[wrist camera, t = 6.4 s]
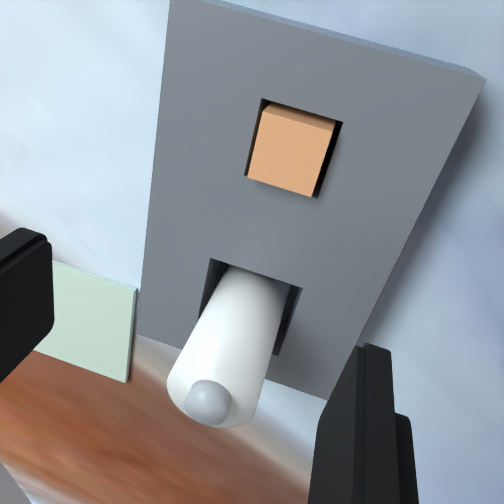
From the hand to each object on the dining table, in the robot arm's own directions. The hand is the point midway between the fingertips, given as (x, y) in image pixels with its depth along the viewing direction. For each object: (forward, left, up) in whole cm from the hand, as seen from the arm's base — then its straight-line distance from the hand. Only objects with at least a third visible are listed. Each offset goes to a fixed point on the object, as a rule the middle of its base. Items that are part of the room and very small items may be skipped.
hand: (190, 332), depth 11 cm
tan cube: (0, 0, -19) cm, 19 cm away
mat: (+16, +23, -20) cm, 34 cm away
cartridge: (0, +12, -20) cm, 23 cm away
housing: (0, +6, -20) cm, 21 cm away
